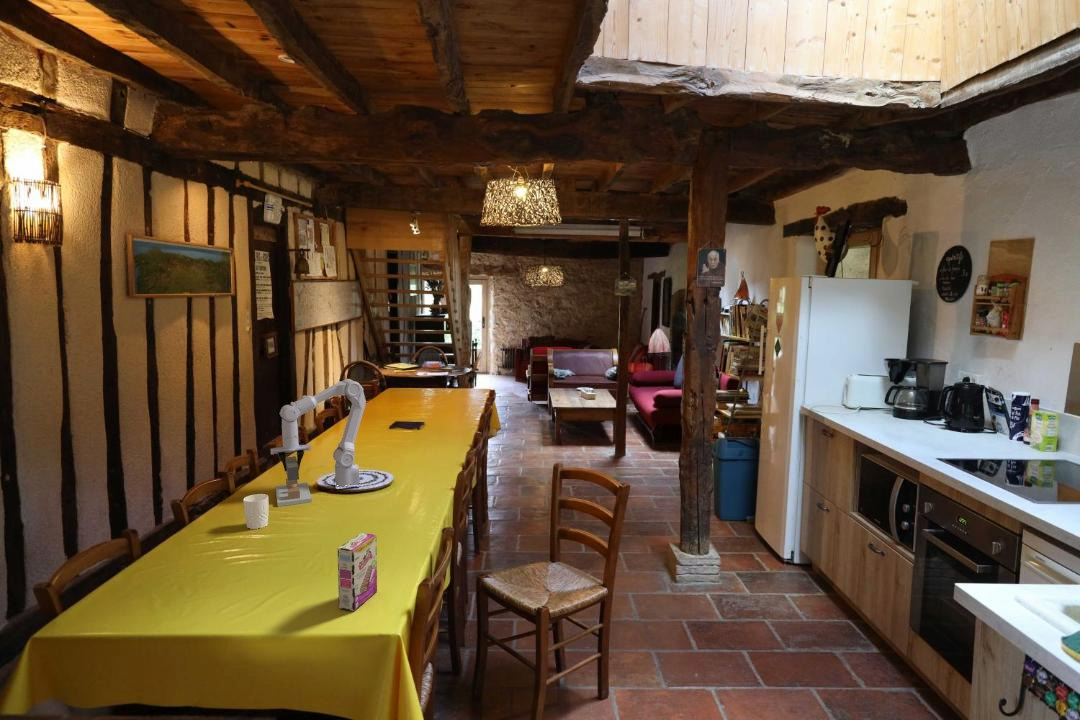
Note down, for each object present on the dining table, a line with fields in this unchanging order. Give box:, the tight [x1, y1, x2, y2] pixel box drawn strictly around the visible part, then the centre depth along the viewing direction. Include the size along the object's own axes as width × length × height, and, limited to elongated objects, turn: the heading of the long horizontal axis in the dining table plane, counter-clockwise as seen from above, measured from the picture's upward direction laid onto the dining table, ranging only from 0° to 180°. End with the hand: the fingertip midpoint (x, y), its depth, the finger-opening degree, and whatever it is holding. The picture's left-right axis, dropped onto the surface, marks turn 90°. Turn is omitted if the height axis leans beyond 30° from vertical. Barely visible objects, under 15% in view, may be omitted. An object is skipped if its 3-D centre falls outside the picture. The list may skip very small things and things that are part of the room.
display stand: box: [275, 478, 313, 507], centre depth 246 cm, size 12×22×4 cm, turn 25°
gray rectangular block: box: [285, 455, 300, 481], centre depth 244 cm, size 4×16×5 cm, turn 25°
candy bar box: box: [337, 532, 378, 612], centre depth 164 cm, size 11×5×16 cm, turn 163°
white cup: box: [242, 493, 270, 530], centre depth 215 cm, size 8×8×10 cm
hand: (291, 470), depth 245 cm, fingers closed on gray rectangular block, 4 cm apart
